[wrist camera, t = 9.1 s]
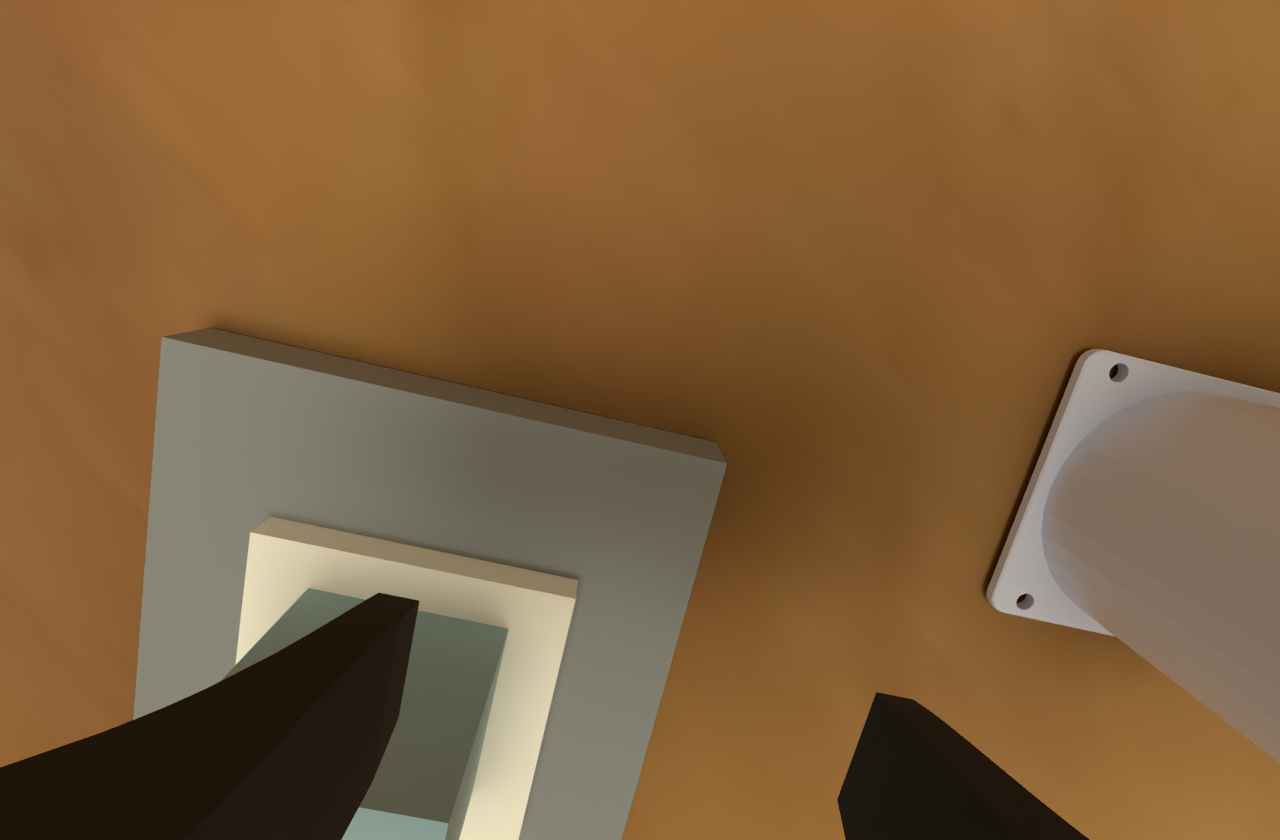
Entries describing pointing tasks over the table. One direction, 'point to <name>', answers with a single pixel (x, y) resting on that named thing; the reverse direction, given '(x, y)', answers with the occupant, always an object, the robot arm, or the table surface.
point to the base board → (431, 550)
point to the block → (416, 719)
